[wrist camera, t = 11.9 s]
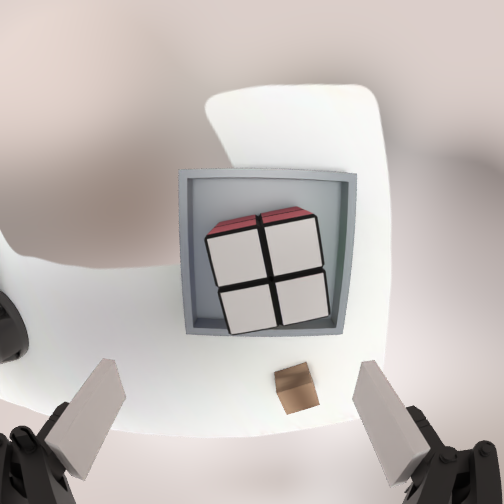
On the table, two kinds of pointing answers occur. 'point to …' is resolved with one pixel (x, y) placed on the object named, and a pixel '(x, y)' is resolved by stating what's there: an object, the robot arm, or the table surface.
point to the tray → (253, 203)
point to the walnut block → (296, 388)
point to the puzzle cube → (269, 270)
